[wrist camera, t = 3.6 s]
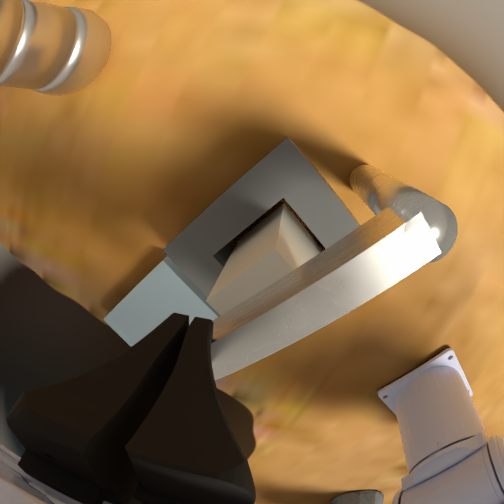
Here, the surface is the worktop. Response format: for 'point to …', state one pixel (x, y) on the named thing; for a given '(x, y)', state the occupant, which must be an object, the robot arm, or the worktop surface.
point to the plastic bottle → (51, 46)
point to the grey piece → (338, 272)
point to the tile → (158, 302)
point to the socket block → (259, 213)
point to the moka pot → (359, 498)
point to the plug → (262, 259)
